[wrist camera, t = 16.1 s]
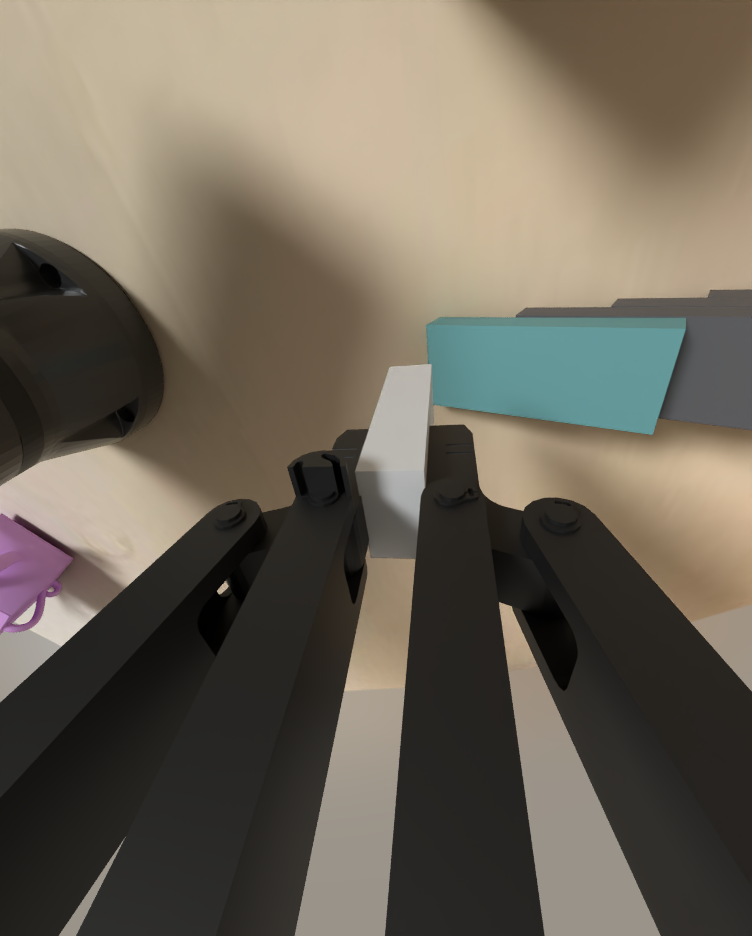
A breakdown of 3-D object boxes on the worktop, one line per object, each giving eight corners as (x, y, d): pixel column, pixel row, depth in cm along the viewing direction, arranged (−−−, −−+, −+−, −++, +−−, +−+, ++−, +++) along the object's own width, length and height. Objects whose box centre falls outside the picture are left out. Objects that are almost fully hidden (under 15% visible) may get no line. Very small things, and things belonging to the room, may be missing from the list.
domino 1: (430, 404, 24) (652, 434, 18) (426, 325, 22) (686, 328, 15) (442, 393, 26) (654, 418, 19) (439, 317, 23) (685, 318, 17)
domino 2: (509, 399, 23) (776, 433, 17) (515, 315, 21) (836, 317, 14) (519, 388, 24) (772, 416, 18) (526, 307, 22) (826, 306, 15)
